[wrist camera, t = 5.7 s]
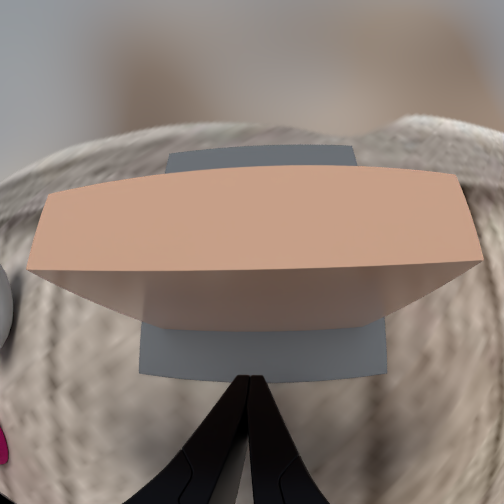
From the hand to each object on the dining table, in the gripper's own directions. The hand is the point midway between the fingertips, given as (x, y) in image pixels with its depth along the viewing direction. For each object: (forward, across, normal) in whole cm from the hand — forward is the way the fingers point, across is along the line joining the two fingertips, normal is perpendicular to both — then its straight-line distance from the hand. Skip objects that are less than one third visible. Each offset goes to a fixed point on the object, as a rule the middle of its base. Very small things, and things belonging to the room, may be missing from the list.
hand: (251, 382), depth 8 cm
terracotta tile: (+7, 0, +2) cm, 8 cm away
